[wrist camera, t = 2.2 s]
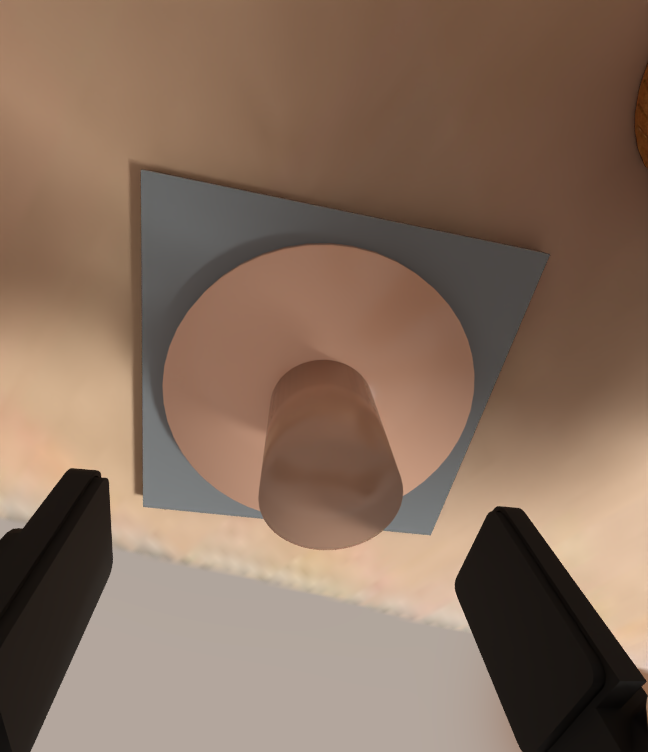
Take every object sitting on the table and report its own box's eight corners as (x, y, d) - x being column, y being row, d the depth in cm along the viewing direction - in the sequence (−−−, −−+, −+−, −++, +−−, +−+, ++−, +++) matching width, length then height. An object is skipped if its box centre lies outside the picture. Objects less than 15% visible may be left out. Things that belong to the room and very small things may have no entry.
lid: (513, 276, 14) (634, 330, 9) (417, 518, 19) (461, 640, 14) (172, 210, 13) (85, 230, 8) (166, 493, 18) (111, 620, 13)
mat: (540, 251, 15) (550, 254, 14) (427, 526, 20) (430, 535, 20) (147, 169, 13) (140, 169, 12) (147, 497, 19) (143, 506, 18)
